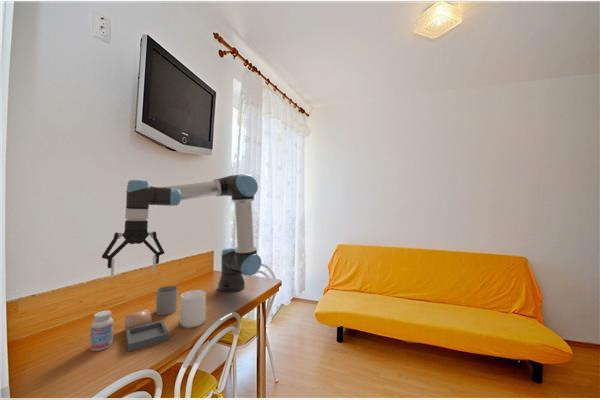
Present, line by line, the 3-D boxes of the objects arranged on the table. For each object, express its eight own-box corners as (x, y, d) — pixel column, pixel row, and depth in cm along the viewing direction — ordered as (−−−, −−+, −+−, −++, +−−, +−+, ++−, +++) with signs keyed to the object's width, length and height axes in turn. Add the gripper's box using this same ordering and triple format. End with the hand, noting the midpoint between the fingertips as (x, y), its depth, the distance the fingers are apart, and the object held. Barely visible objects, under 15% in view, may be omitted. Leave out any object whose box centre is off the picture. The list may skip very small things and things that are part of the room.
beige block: (143, 321, 104) (144, 307, 104) (150, 326, 101) (151, 312, 100) (124, 328, 98) (125, 313, 98) (131, 334, 95) (132, 318, 94)
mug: (190, 330, 98) (191, 300, 98) (171, 322, 104) (171, 294, 104) (210, 320, 106) (210, 292, 106) (191, 314, 112) (191, 287, 112)
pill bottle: (87, 353, 82) (88, 318, 82) (93, 343, 88) (94, 311, 88) (110, 349, 85) (110, 315, 85) (114, 340, 90) (115, 308, 90)
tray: (162, 326, 100) (162, 320, 100) (168, 340, 91) (168, 333, 91) (126, 336, 93) (126, 329, 93) (128, 351, 83) (128, 344, 83)
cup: (168, 316, 110) (168, 293, 110) (151, 314, 111) (152, 291, 111) (180, 308, 118) (181, 286, 118) (165, 306, 119) (166, 285, 120)
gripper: (170, 219, 109) (167, 268, 109) (96, 219, 95) (93, 276, 94) (173, 220, 103) (171, 272, 103) (95, 220, 89) (91, 281, 88)
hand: (133, 274), depth 98 cm, fingers open, 13 cm apart
